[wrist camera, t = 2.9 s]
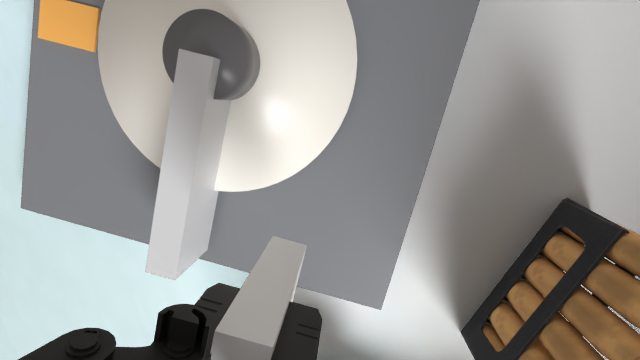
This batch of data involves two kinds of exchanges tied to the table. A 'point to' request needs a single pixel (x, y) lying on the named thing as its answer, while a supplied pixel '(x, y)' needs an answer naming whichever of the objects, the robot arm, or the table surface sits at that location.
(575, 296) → the ammunition clip
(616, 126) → the table surface
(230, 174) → the dial
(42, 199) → the dial base
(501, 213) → the table surface
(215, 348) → the robot arm
